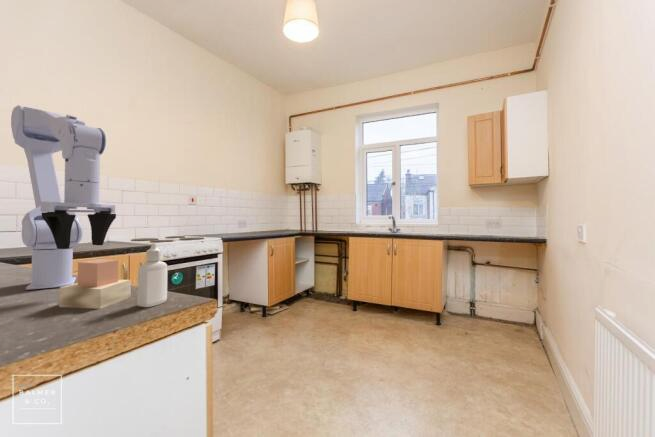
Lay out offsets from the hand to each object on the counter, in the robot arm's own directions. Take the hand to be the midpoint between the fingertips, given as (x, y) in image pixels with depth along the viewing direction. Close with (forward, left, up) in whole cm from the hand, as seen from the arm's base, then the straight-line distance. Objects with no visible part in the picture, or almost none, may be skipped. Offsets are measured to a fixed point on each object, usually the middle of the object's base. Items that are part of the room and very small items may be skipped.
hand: (81, 246), depth 64 cm
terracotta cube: (+7, +3, -7) cm, 10 cm away
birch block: (+7, +3, -11) cm, 13 cm away
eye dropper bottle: (+14, +12, -11) cm, 21 cm away
